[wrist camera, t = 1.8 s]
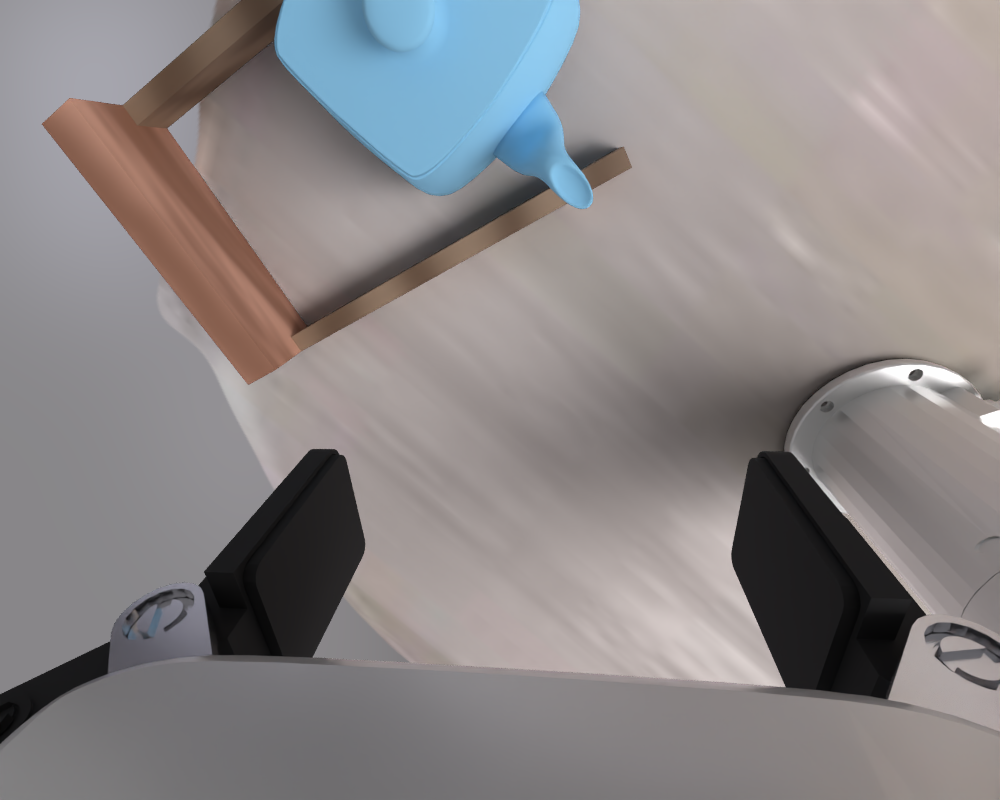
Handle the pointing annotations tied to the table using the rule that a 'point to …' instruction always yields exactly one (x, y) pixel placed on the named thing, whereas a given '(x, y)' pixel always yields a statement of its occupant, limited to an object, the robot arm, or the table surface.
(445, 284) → the table surface
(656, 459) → the table surface
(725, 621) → the table surface
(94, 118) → the guide track
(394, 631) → the table surface
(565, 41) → the teapot
